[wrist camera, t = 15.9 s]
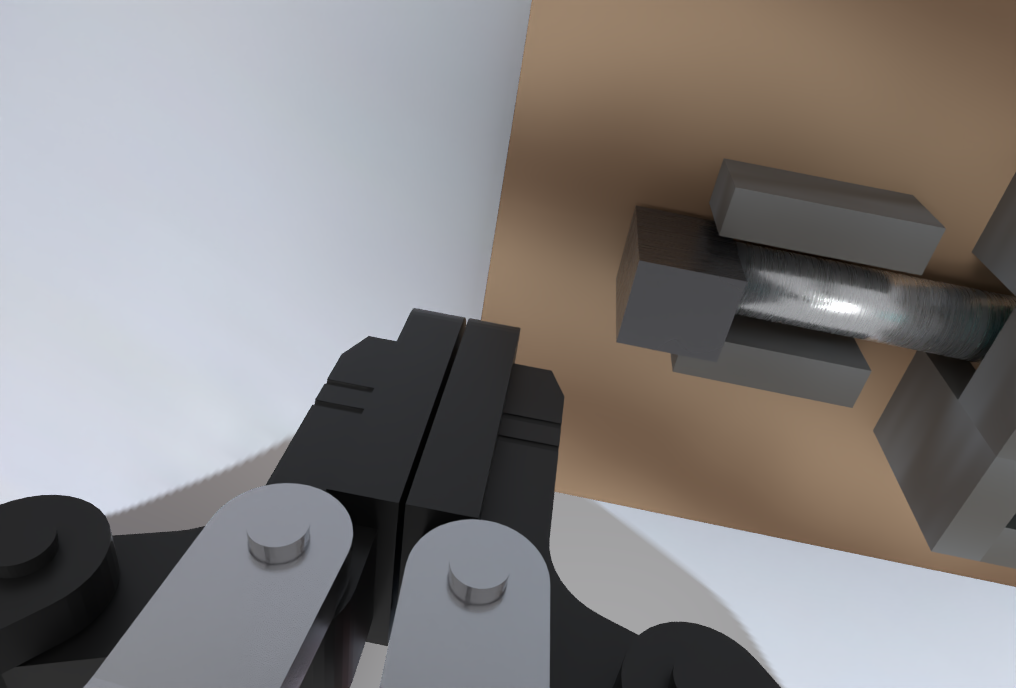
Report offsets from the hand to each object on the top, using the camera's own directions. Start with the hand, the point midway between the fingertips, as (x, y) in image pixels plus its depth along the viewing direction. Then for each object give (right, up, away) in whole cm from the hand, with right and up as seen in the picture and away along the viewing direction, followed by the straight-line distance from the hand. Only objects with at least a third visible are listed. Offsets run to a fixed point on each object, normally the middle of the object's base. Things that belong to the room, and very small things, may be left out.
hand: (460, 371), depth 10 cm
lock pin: (+8, +2, +6) cm, 10 cm away
